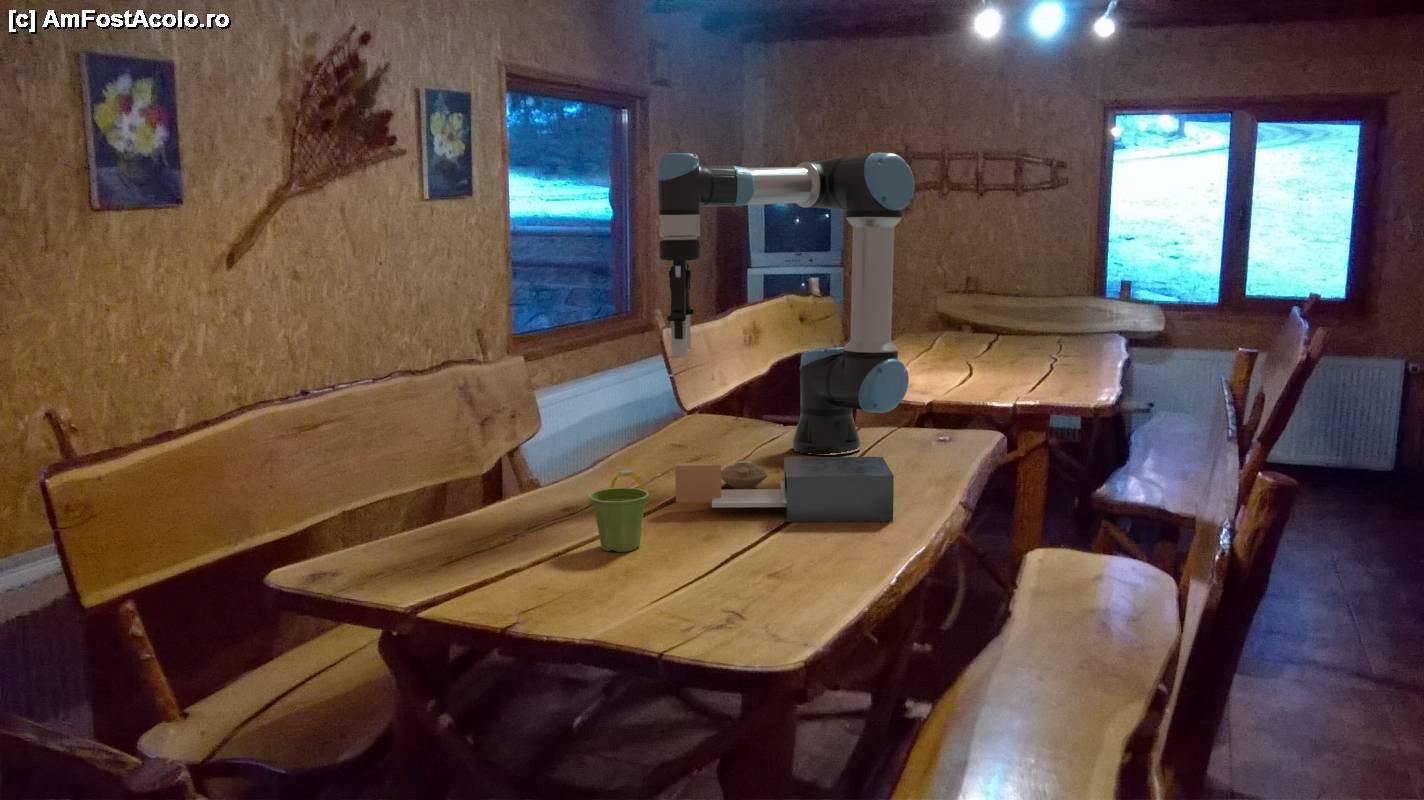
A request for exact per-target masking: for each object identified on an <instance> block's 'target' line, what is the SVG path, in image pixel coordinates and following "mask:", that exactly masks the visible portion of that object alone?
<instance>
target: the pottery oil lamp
mask: <svg viewBox="0 0 1424 800" xmlns="http://www.w3.org/2000/svg"><path fill="white" fill-rule="evenodd" d="M767 477H768V474H767V473H766V471H765V470H764V469H763V468H762V467H761V466H759V465H758V464H757V463H752V461H747V460H746V461H743V460H742V461H741V460H739V461H737V462H733V463H731V464H729V465H728V466H727V467H725V468H724V469H722V470H721V481H723V482H724V483H726V484H727V485H729V486H730V487H732V488H733V490H739V489H756V486H758V485H759V484H760V483H762V481H764V480H766V478H767Z"/></svg>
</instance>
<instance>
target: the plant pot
mask: <svg viewBox="0 0 1424 800" xmlns="http://www.w3.org/2000/svg"><path fill="white" fill-rule="evenodd" d="M648 498H649V491H647V490H642V489H640V488H636V487H615V488H611V487H610V488H604V489H600V490H599V489H598V490H596V491H592V492H591V493H590V494H588V499H589V500H590V501H591V504H592V507H593V509H594V513H595V519H596V523H597V531H598V536H599V542H600V547H601V549H602V550H604V551H605V552H611V551H614V552H617V553H625V552H632V551H635V550H636V549H637V548H639V547H640V546H641V538H642V527H643V518H644V509H645V506H646V503H647V499H648Z"/></svg>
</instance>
